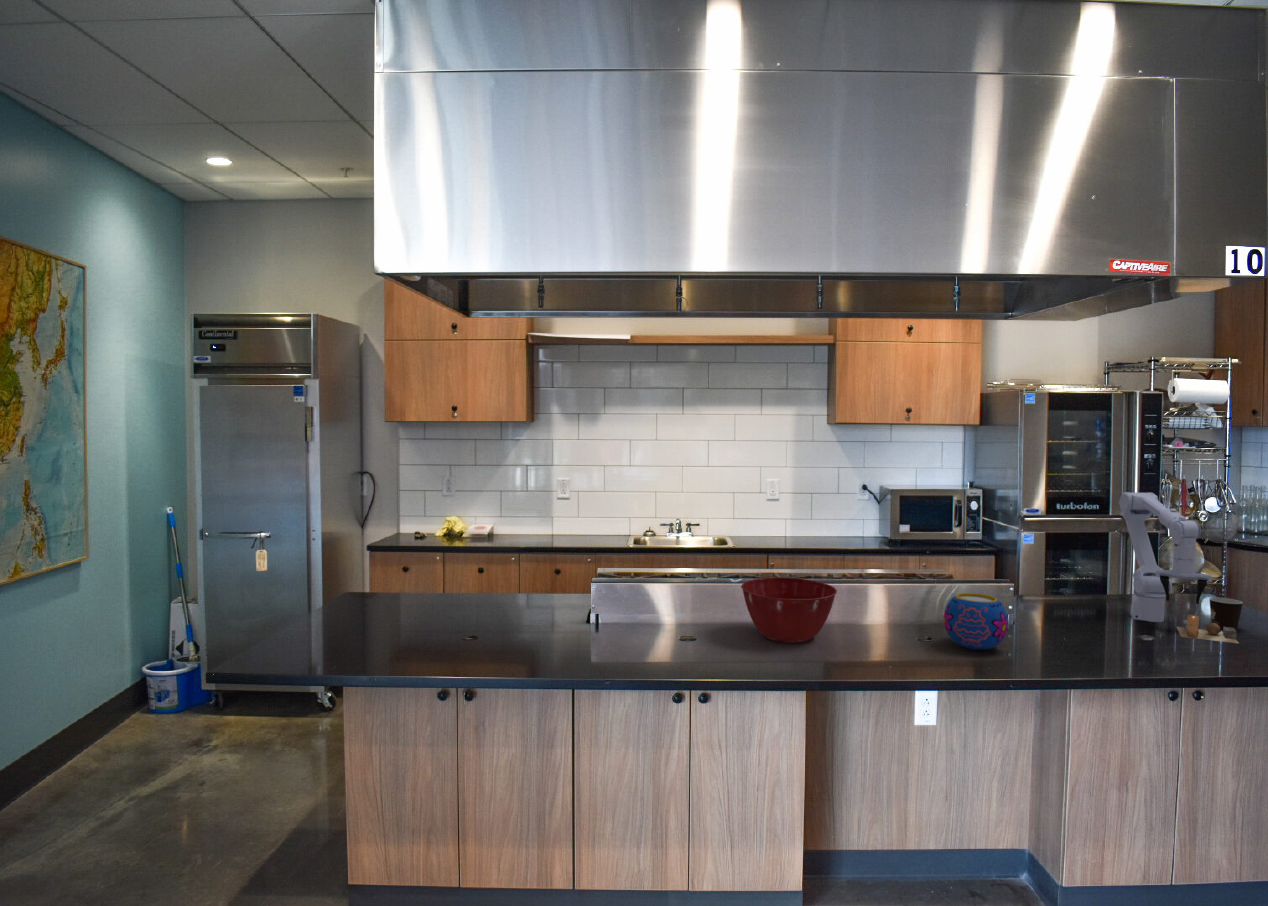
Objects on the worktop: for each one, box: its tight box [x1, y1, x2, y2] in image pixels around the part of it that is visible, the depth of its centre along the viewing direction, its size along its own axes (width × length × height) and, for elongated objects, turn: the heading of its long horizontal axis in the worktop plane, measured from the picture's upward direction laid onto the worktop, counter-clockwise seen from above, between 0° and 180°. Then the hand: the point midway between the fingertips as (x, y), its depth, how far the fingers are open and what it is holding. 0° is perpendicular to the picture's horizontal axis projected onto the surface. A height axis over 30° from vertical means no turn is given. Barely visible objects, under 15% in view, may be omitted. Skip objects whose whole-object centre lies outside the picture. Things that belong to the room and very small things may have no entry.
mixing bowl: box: [740, 577, 838, 644], centre depth 248 cm, size 28×28×16 cm
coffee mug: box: [1209, 597, 1243, 631], centre depth 263 cm, size 12×9×10 cm
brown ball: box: [1205, 622, 1222, 635], centre depth 254 cm, size 4×4×4 cm
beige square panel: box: [1176, 624, 1240, 644], centre depth 254 cm, size 14×14×3 cm
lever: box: [1183, 614, 1200, 637], centre depth 256 cm, size 14×3×6 cm, turn 149°
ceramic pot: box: [943, 592, 1010, 651], centre depth 240 cm, size 18×18×15 cm
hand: (1182, 601), depth 257 cm, fingers open, 7 cm apart
